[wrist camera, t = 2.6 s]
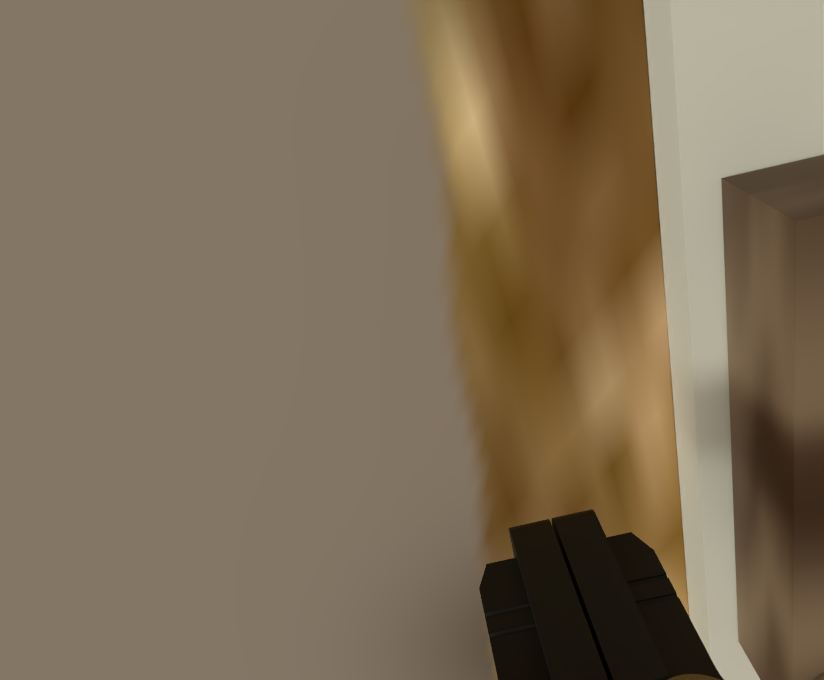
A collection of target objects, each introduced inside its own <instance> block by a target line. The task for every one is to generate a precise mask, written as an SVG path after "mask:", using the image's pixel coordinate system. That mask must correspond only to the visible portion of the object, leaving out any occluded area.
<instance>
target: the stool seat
mask: <svg viewBox="0 0 824 680" xmlns="http://www.w3.org/2000/svg"><path fill="white" fill-rule="evenodd" d="M643 1H644V15H645V28H646V41H647V55H648V68H649V82H650V95H651V108H652V122H653V135H654V148H655V162H656V175H657V188H658V202H659V215H660V228H661V242H662V255H663V268H664V282H665V295H666V308H667V322H668V335H669V348H670V362H671V375H672V388H673V402H674V415H675V428H676V442H677V455H678V469H679V482H680V495H681V509H682V522H683V535H684V549H685V562H686V575H687V589H688V602H689V615H690V620H691V622H692V624H693V625H694V627H695V629H696V631H697V633H698V635H699V637H700V639H701V641H702V643H703V644H704V646H705V648H706V650H707V652H708V654H709V656H710V658H711V660H712V661H713V663H714V665H715V667H716V669H717V670H718V672H719V674H720V675H721V677H722V678H723V679H724V680H760V678H759V676H758V675H757V673H756V671H755V669H754V668H753V666H752V664H751V662H750V661H749V659H748V657H747V655H746V654H745V652H744V650H743V648H742V647H741V645H740V643H739V641H738V620H737V592H736V565H735V538H734V511H733V484H732V456H731V429H730V402H729V375H728V348H727V320H726V293H725V266H724V239H723V212H722V184H721V178H725V177H729V176H734V175H738V174H742V173H747V172H751V171H755V170H760V169H764V168H768V167H773V166H777V165H781V164H786V163H790V162H794V161H799V160H803V159H807V158H812V157H816V156H820V155H824V0H643Z"/></svg>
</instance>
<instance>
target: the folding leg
mask: <svg viewBox="0 0 824 680" xmlns="http://www.w3.org/2000/svg"><path fill="white" fill-rule="evenodd" d="M721 184H722V212H723V239H724V266H725V293H726V320H727V348H728V375H729V402H730V429H731V456H732V484H733V511H734V538H735V565H736V592H737V620H738V641H739V643H740V645H741V647H742V648H743V650H744V652H745V654H746V655H747V657H748V659H749V661H750V662H751V664H752V666H753V668H754V669H755V671H756V673H757V675H758V676H759V678H760V680H824V155H820V156H816V157H812V158H807V159H803V160H799V161H794V162H790V163H786V164H781V165H777V166H773V167H768V168H764V169H760V170H755V171H751V172H747V173H742V174H738V175H734V176H729V177H725V178H721Z"/></svg>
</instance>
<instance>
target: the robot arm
mask: <svg viewBox="0 0 824 680" xmlns="http://www.w3.org/2000/svg"><path fill="white" fill-rule="evenodd" d="M509 533H510V538H511V543H512V548H513V553H514V558H513V559H508V560H503V561H499V562H494V563H490V564H487V565H486V568H485V571H484V575H483V578H482V581H481V584H480V588H479V589H480V594H481V599H482V604H483V609H484V613H485V618H486V623H487V628H488V633H489V637H490V642H491V647H492V652H493V657H494V662H495V666H496V671H497V676H498V680H724V679H723V678H722V677H721V675H720V674H719V672H718V670H717V669H716V667H715V665H714V663H713V661H712V660H711V658H710V656H709V654H708V652H707V650H706V648H705V646H704V644H703V643H702V641H701V639H700V637H699V635H698V633H697V631H696V629H695V627H694V625H693V624H692V622H691V620H690V618H689V616H688V614H687V612H686V610H685V608H684V607H683V605H682V603H681V601H680V599H679V598H678V597H677V595H676V591H675V590H674V588H673V586H672V584H671V582H670V580H669V578H667V576H666V573H665V571H664V569H663V567H662V565H661V563H660V561H659V559H658V557H657V555H656V554H655V552H654V550H653V549H652V548H650V547H649V546H648V545H647V544H645V543H644V542H643V541H641V540H640V539H639V538H638V537H636V536H635V535H634V534H632V533H631V532H630V533H625V534H621V535H616V536H612V537H607V538H606V536H605V534H604V531H603V529H602V527H601V525H600V523H599V520H598V518H597V516H596V514H595V512H594V511H593V510H587V511H583V512H578V513H573V514H569V515H564V516H560V517H555V518H552V525H551V522H550V520H549V519H547V520H543V521H538V522H534V523H529V524H525V525H520V526H515V527H511V528H509Z"/></svg>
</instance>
